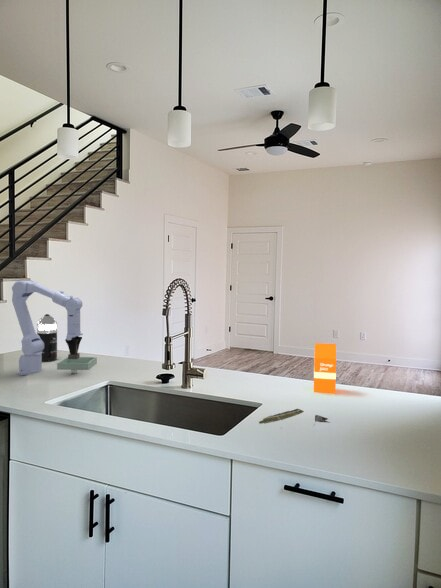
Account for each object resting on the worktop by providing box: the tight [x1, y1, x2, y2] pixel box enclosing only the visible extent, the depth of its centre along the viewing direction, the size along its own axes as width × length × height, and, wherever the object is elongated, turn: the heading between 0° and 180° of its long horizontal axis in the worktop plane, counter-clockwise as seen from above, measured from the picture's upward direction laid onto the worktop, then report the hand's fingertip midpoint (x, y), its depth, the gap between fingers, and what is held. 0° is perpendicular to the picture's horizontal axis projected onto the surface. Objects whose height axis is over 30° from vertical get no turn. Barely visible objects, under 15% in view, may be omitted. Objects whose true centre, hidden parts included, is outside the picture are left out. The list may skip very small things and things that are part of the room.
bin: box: [56, 356, 98, 371], centre depth 213 cm, size 15×15×4 cm
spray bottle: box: [36, 313, 58, 362], centre depth 230 cm, size 10×10×25 cm
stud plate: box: [70, 369, 78, 375], centre depth 198 cm, size 10×10×3 cm
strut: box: [67, 346, 81, 359], centre depth 198 cm, size 4×4×7 cm
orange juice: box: [313, 342, 337, 394], centre depth 179 cm, size 8×9×20 cm
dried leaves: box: [258, 408, 331, 429], centre depth 141 cm, size 25×19×2 cm
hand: (73, 353), depth 198 cm, fingers closed on strut, 3 cm apart
